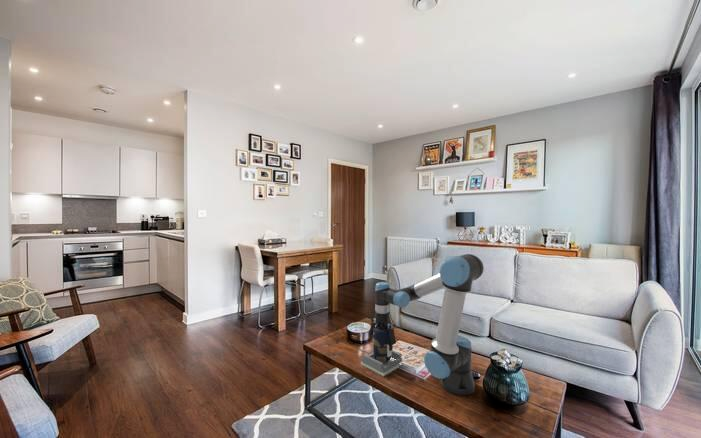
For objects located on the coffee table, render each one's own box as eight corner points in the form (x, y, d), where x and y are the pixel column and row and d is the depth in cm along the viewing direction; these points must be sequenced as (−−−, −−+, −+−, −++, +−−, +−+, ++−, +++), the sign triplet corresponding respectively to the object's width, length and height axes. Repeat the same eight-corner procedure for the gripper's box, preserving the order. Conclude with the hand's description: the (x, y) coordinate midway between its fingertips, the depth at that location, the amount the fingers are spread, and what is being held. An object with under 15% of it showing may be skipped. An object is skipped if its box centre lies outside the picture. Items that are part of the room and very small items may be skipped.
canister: (391, 364, 152) (392, 330, 152) (373, 363, 153) (373, 329, 152) (389, 355, 162) (389, 323, 162) (372, 354, 162) (372, 322, 162)
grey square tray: (402, 364, 157) (402, 354, 157) (383, 376, 146) (383, 365, 146) (380, 354, 169) (380, 344, 169) (360, 364, 158) (360, 354, 158)
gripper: (403, 315, 151) (402, 357, 152) (371, 305, 167) (371, 343, 168) (394, 318, 146) (393, 362, 147) (362, 308, 162) (362, 347, 163)
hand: (381, 352), depth 157 cm, fingers open, 10 cm apart
